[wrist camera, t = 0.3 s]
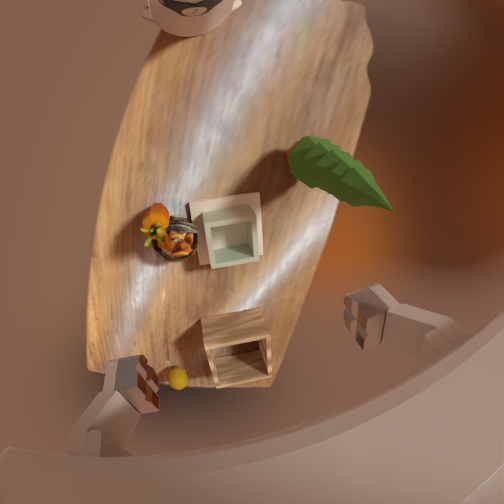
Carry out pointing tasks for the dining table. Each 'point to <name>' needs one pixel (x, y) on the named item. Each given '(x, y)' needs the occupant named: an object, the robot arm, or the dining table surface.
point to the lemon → (177, 378)
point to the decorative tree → (334, 172)
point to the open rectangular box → (228, 229)
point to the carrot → (155, 222)
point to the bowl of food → (177, 240)
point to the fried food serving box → (231, 333)
